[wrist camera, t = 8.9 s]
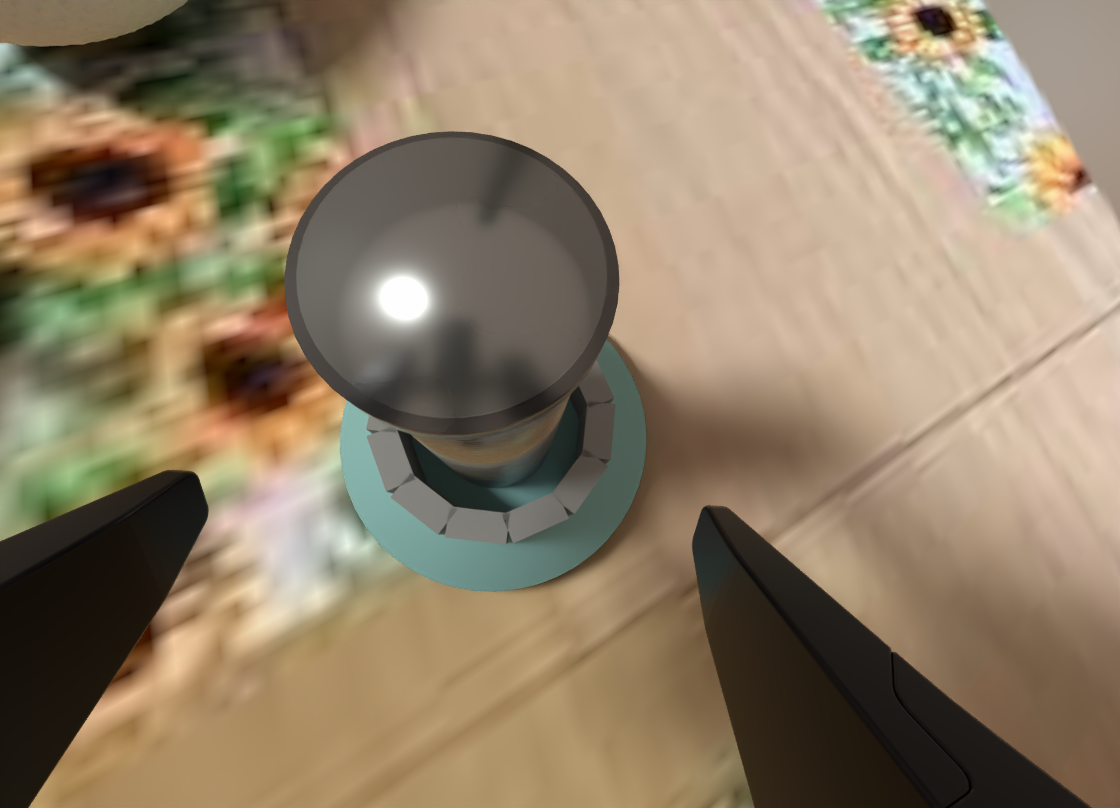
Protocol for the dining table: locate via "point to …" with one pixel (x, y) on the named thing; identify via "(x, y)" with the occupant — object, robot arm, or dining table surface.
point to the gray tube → (455, 295)
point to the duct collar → (503, 491)
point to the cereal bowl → (77, 20)
